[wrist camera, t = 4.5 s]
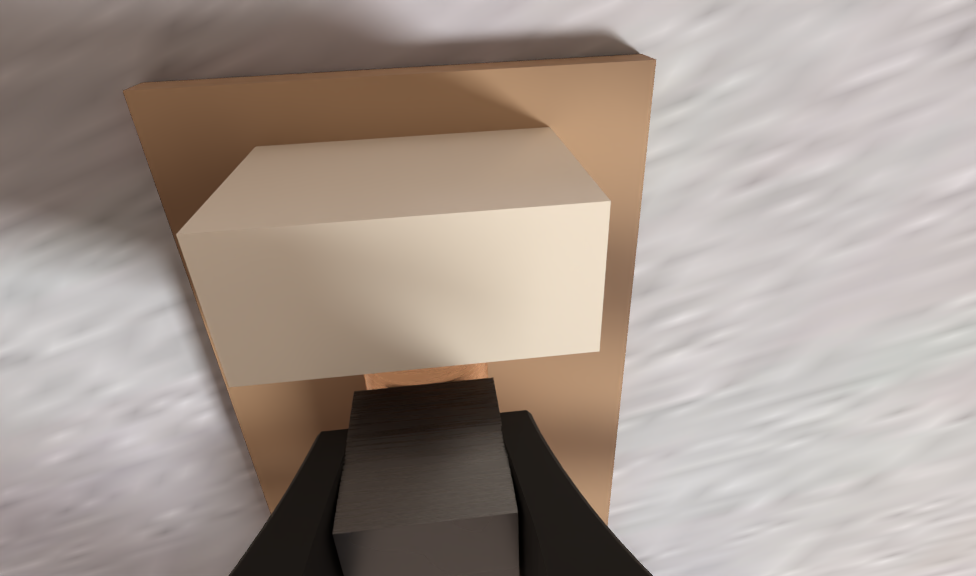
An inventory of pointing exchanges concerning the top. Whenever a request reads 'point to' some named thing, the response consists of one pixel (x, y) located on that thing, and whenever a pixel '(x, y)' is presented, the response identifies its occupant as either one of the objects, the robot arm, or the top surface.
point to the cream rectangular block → (400, 255)
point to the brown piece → (427, 478)
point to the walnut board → (415, 112)
